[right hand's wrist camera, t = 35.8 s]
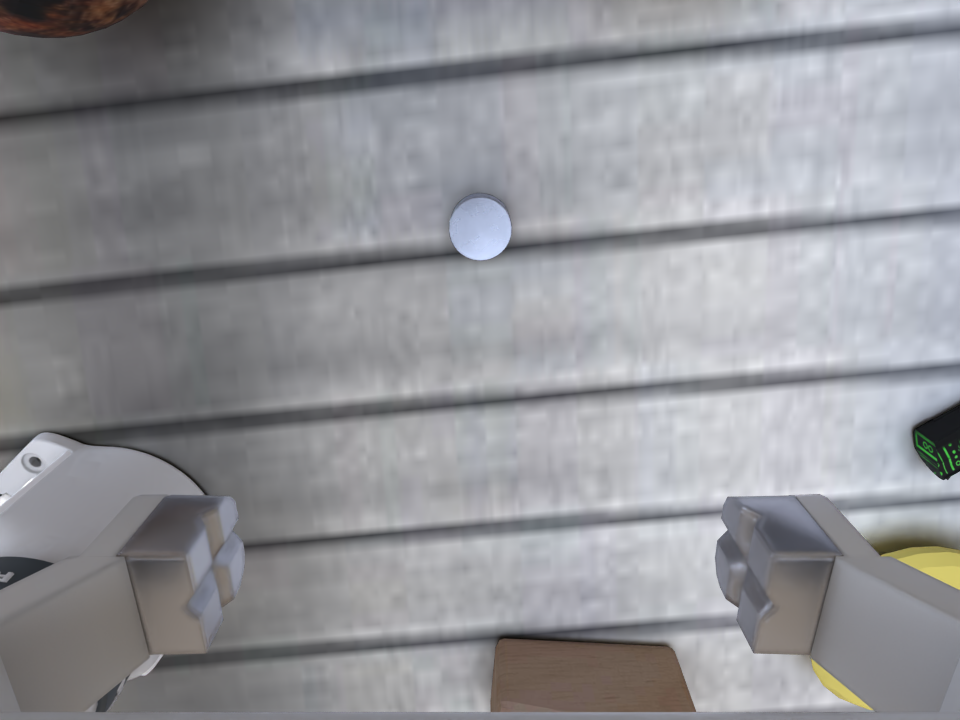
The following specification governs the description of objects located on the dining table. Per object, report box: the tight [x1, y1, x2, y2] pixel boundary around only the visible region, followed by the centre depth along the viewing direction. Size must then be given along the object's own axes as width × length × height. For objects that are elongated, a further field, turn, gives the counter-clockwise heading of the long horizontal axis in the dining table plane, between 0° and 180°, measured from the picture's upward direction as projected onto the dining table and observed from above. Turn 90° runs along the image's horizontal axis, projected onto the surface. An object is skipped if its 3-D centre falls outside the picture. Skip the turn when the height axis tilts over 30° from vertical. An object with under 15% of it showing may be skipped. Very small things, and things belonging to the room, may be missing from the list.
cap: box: [449, 193, 512, 261], centre depth 39 cm, size 4×4×2 cm
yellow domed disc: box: [811, 546, 960, 710], centre depth 48 cm, size 16×16×7 cm
